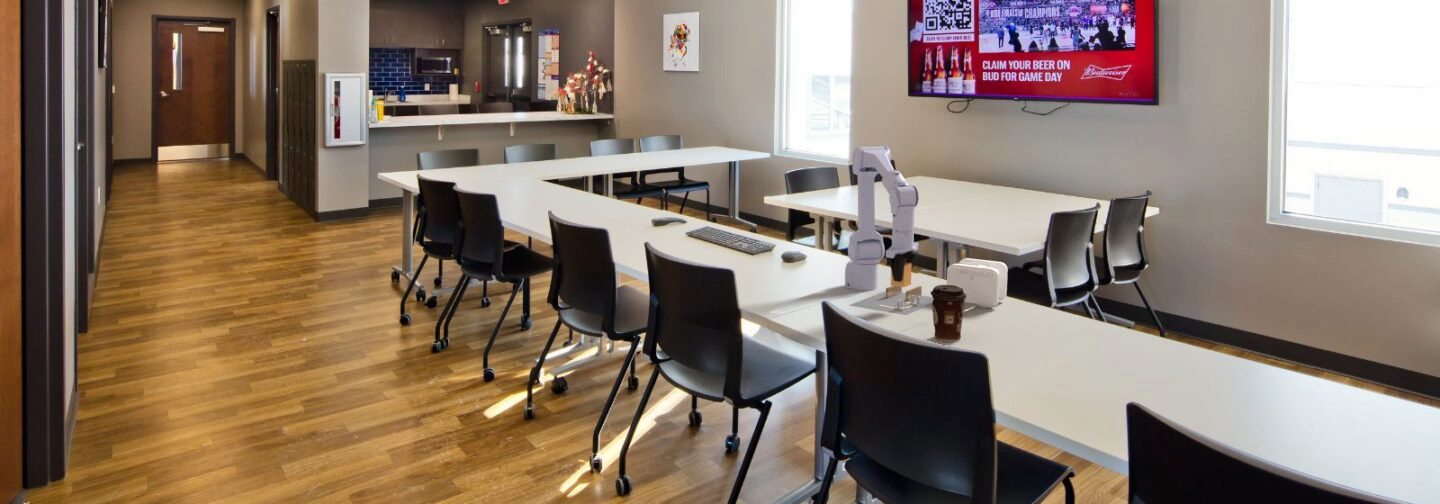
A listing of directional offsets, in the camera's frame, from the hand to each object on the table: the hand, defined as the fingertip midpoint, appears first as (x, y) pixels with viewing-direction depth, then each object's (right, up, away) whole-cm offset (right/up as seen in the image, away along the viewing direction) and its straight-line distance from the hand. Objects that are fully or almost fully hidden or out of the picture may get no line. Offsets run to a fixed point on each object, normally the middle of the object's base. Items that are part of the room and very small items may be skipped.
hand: (901, 279), depth 254 cm
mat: (0, -8, +10) cm, 13 cm away
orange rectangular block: (0, -1, 0) cm, 2 cm away
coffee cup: (+7, -14, -23) cm, 28 cm away
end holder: (+3, -6, +15) cm, 16 cm away
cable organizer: (+24, -7, +12) cm, 27 cm away
